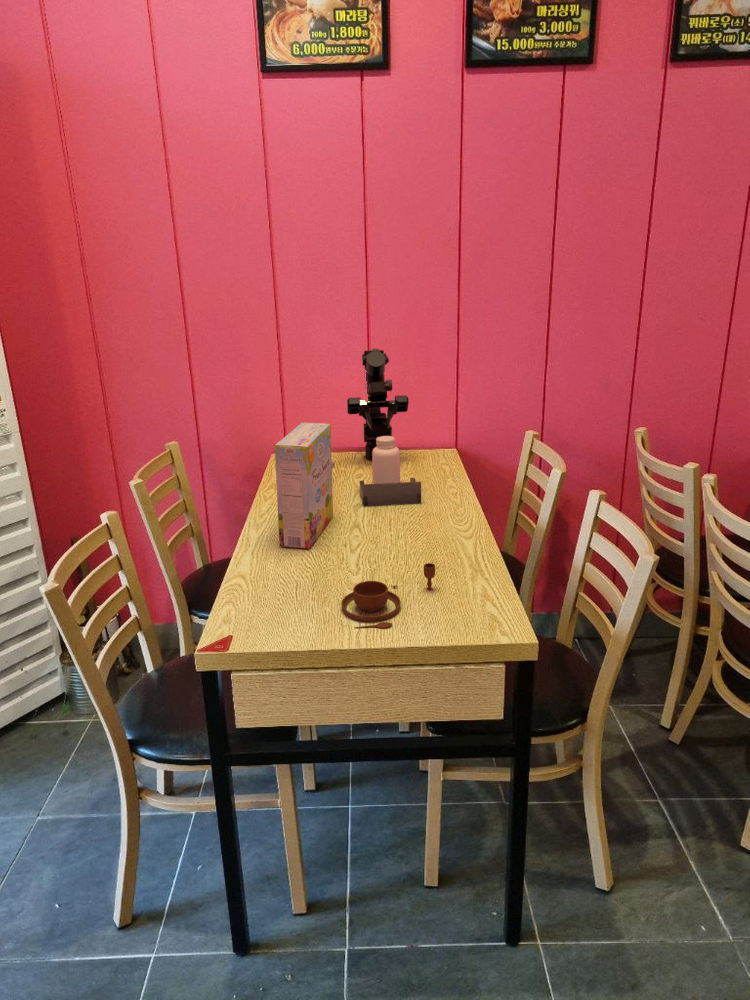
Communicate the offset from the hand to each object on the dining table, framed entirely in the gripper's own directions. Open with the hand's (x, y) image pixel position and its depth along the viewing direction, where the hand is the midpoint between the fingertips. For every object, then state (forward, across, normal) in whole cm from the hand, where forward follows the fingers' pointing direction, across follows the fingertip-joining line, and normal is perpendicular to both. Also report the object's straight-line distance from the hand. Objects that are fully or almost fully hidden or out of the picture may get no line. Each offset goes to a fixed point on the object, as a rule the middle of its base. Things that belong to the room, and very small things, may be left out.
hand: (379, 428), depth 226 cm
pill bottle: (+21, 0, -1) cm, 21 cm away
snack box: (+42, -22, -22) cm, 52 cm away
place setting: (+71, -5, -51) cm, 87 cm away
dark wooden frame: (+26, +1, -7) cm, 27 cm away
